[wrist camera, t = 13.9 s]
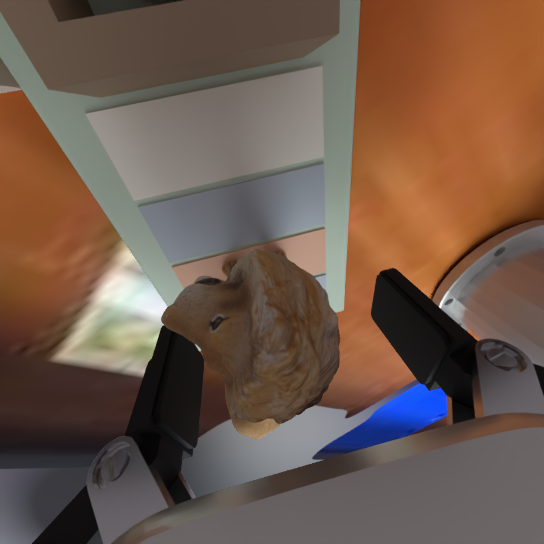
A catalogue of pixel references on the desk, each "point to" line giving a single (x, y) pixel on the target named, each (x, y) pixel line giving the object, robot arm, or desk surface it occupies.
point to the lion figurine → (262, 337)
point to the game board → (201, 124)
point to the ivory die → (7, 79)
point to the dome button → (163, 1)
